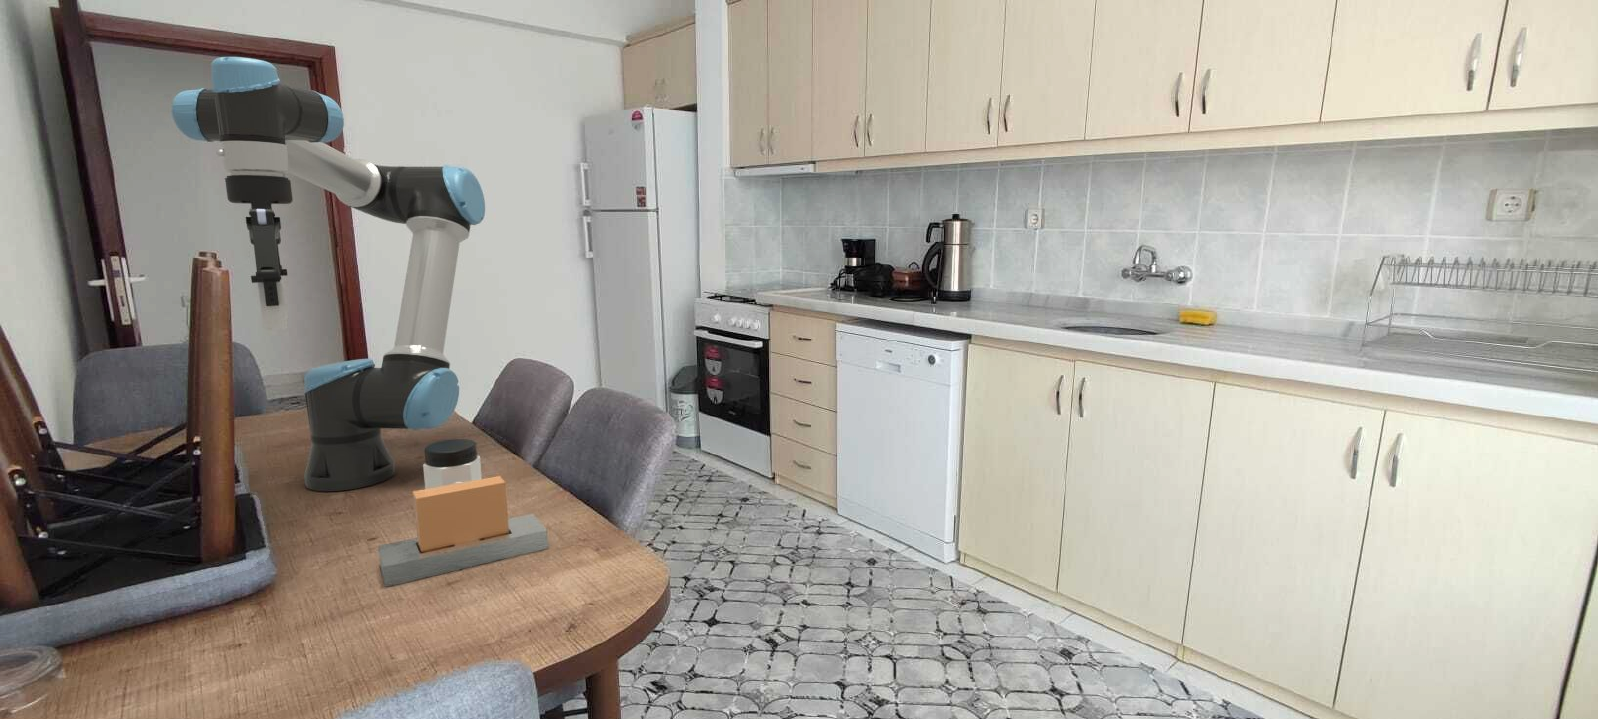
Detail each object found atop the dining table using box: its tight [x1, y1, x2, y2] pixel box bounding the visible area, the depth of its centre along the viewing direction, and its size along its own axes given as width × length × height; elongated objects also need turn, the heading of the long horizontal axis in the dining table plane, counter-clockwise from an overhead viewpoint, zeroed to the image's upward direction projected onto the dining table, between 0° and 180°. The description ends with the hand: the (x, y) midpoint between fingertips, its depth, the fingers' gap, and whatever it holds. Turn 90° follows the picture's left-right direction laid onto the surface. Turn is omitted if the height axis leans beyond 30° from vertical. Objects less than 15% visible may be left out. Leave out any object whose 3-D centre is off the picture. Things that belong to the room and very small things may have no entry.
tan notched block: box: [412, 475, 509, 553], centre depth 109 cm, size 4×12×11 cm, turn 124°
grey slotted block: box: [377, 513, 549, 588], centre depth 110 cm, size 8×22×3 cm, turn 124°
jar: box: [422, 438, 483, 489], centre depth 127 cm, size 9×8×12 cm
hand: (276, 324), depth 108 cm, fingers open, 13 cm apart
